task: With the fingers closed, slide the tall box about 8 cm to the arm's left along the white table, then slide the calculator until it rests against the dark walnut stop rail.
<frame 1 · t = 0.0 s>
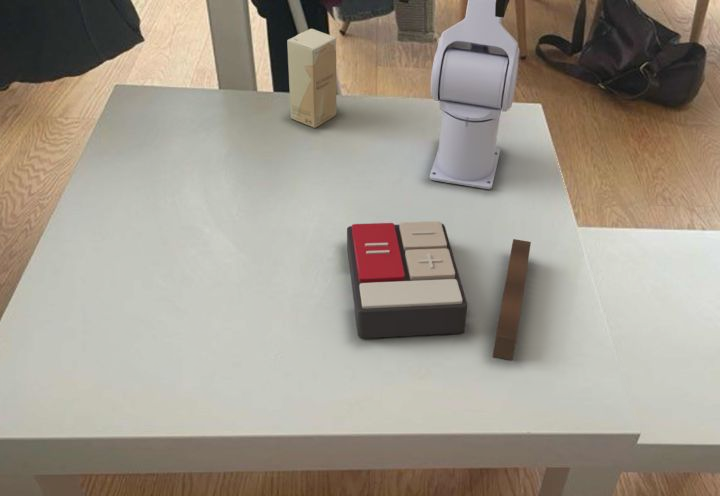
hand: (450, 3, 64), 32 cm above the table, tool tilted 50°, fingers open, 7 cm apart
calculator: (402, 289, 88), on the table
stop rail: (510, 306, 88), on the table
box: (314, 117, 112), on the table
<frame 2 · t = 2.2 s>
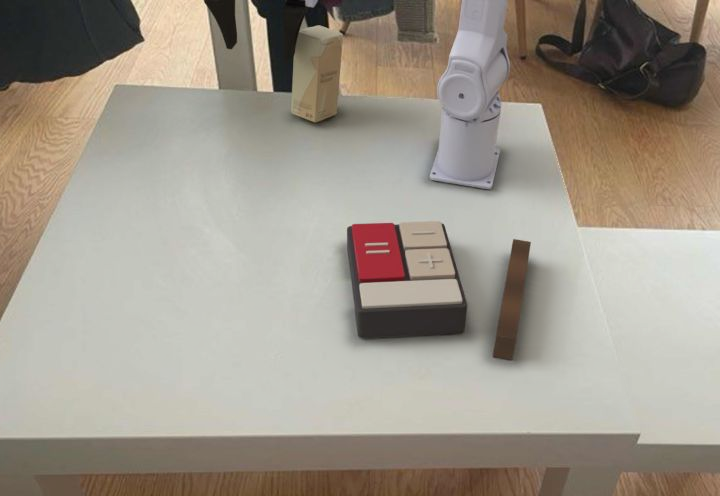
hand: (260, 51, 105), 9 cm above the table, tool pointing down, fingers open, 7 cm apart
box: (314, 115, 112), on the table, touching gripper
everything else where it was.
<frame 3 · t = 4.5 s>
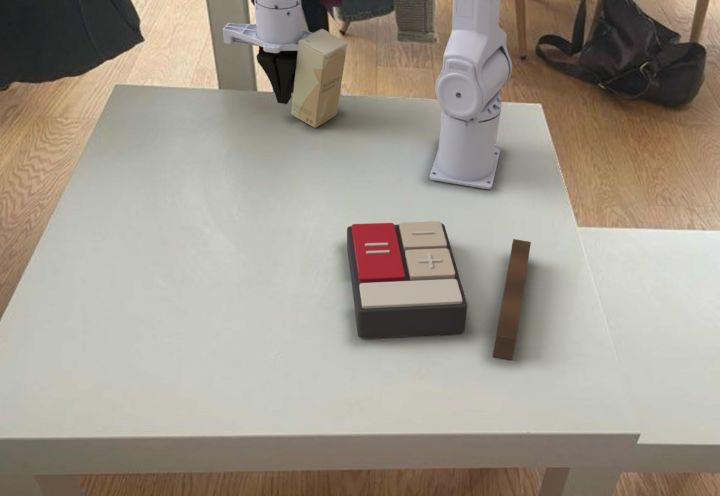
hand: (284, 100, 111), 2 cm above the table, tool pointing down, fingers closed
box: (314, 115, 112), on the table
everything else where it was.
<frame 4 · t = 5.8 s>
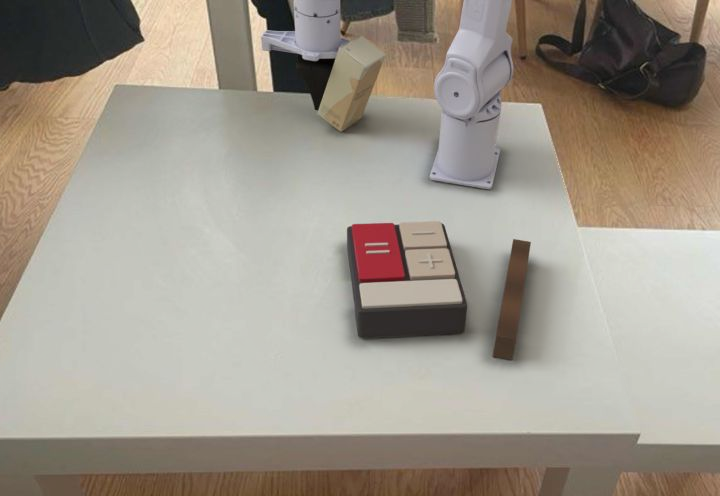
hand: (319, 107, 111), 2 cm above the table, tool pointing down, fingers closed
box: (339, 116, 111), point 1 cm above the table, touching gripper
everything else where it was.
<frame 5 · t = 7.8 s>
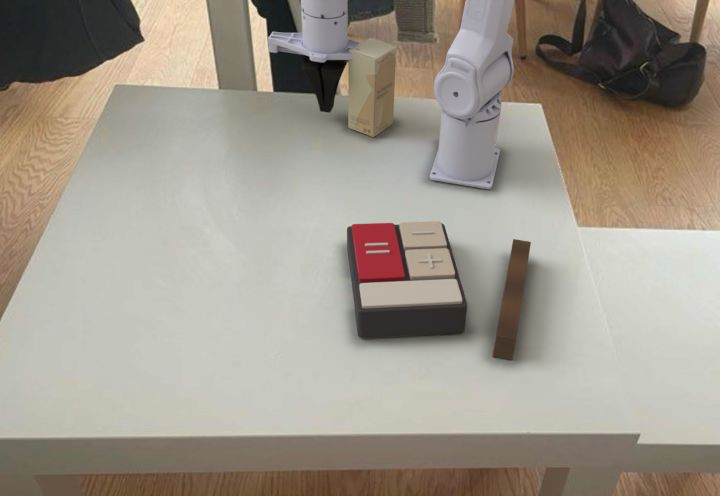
hand: (326, 108, 111), 1 cm above the table, tool pointing down, fingers closed
box: (371, 126, 112), on the table
everything else where it was.
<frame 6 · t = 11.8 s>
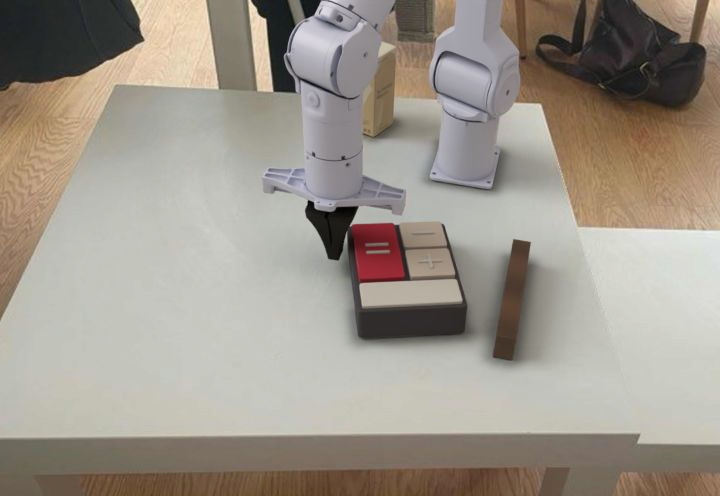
hand: (335, 254, 89), 1 cm above the table, tool pointing down, fingers closed
calculator: (403, 289, 88), on the table, touching gripper
everything else where it was.
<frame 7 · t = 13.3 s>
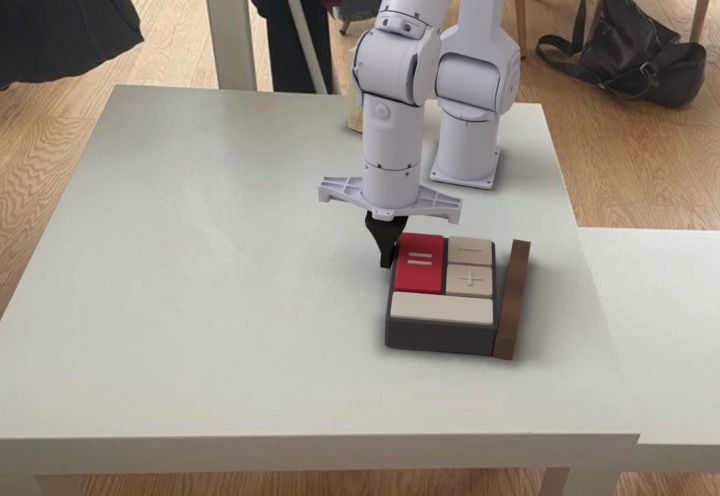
hand: (387, 262, 89), 1 cm above the table, tool pointing down, fingers closed, pressing on calculator
calculator: (441, 303, 87), on the table, touching gripper, stop rail
everything else where it was.
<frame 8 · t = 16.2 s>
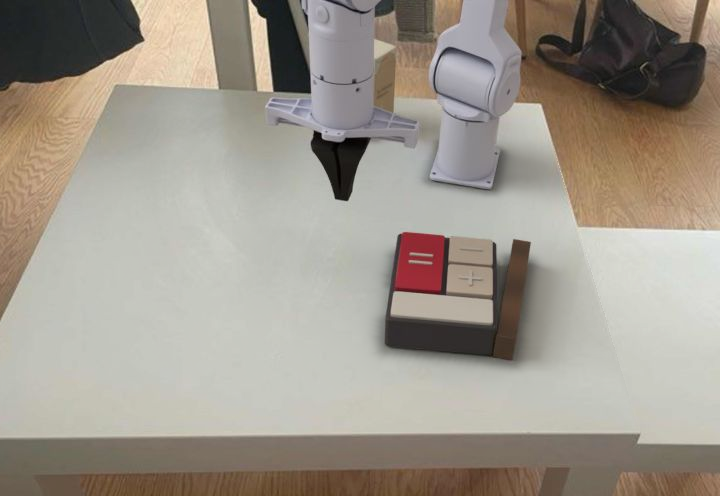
hand: (343, 195, 83), 9 cm above the table, tool pointing down, fingers closed
calculator: (442, 303, 87), on the table
everything else where it was.
at the end: box inside the target area (0.0 cm from its centre), on the table; box tilted 0°; calculator inside the target area on the table beside the stop rail (1.1 cm from its centre), on the table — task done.
